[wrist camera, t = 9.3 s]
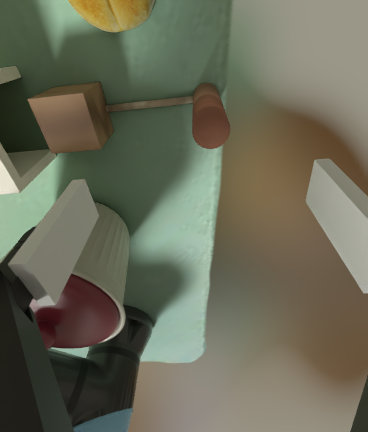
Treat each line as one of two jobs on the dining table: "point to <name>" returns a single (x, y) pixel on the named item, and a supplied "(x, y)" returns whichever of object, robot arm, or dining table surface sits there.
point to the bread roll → (114, 13)
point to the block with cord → (99, 111)
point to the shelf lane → (20, 155)
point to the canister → (90, 289)
